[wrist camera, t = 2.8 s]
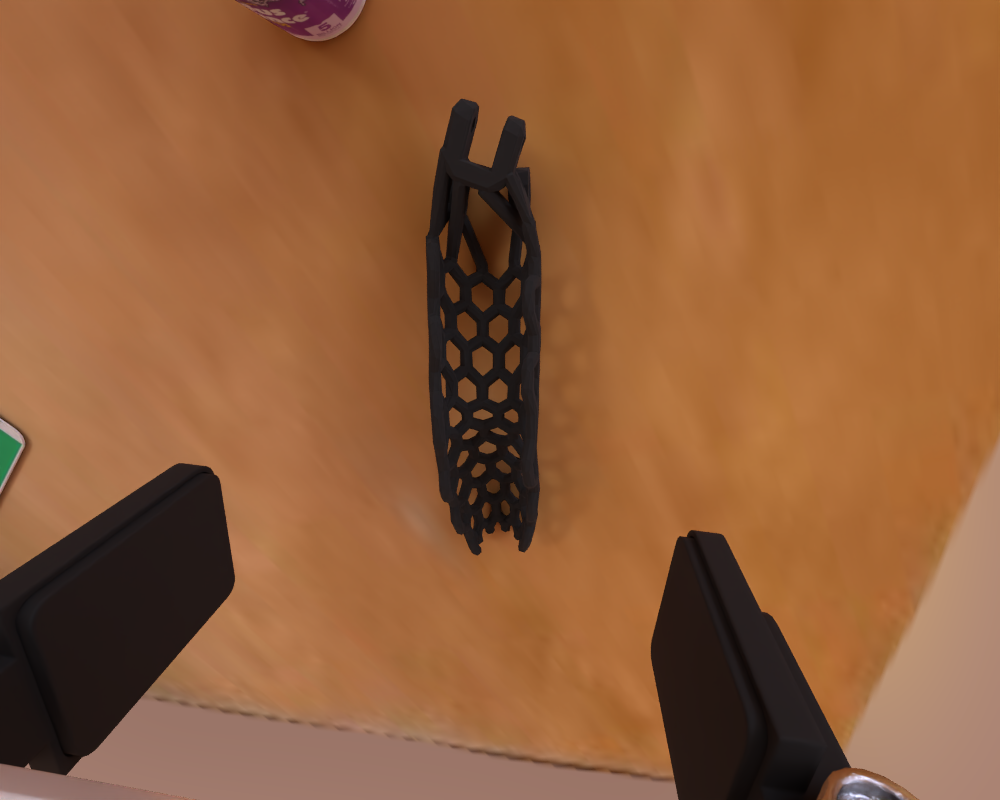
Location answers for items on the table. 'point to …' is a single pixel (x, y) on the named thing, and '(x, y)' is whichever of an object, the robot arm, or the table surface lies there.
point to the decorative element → (485, 334)
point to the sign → (9, 451)
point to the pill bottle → (308, 16)
